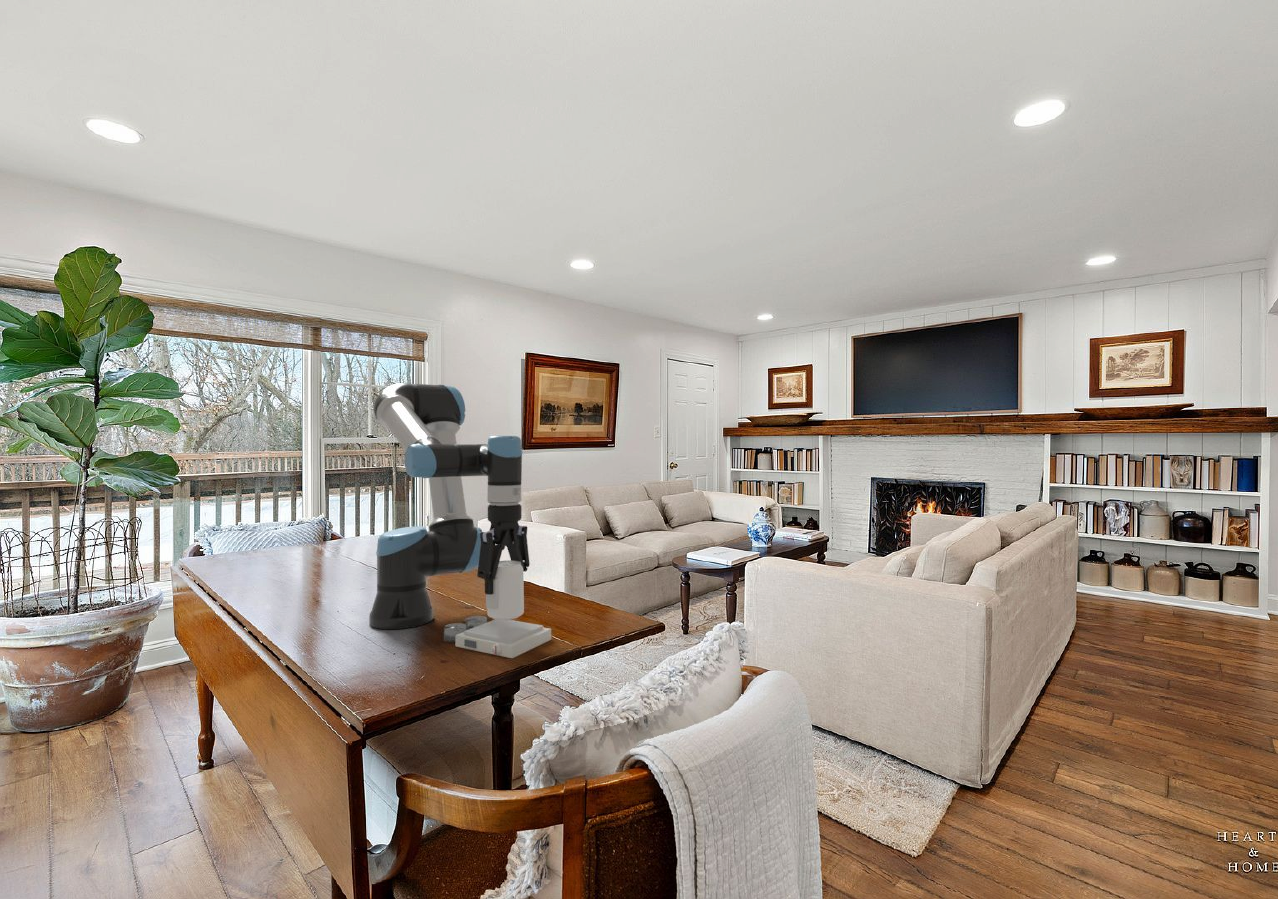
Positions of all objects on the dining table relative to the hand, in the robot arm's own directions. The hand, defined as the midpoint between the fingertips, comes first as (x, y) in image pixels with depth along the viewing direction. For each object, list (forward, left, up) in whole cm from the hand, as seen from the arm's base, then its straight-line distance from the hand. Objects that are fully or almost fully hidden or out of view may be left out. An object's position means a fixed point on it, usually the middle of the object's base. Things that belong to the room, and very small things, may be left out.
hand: (504, 603), depth 138 cm
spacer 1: (-12, -3, -9) cm, 15 cm away
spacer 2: (-12, +4, -9) cm, 16 cm away
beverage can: (0, 0, -3) cm, 3 cm away
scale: (0, 0, -9) cm, 9 cm away
